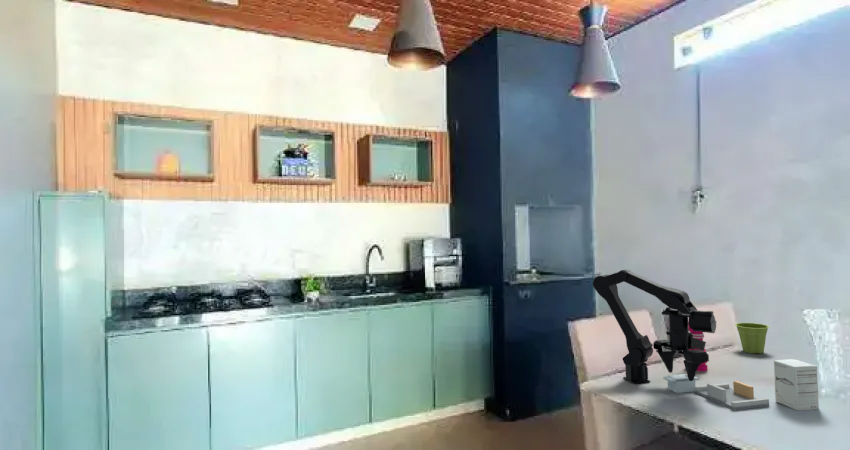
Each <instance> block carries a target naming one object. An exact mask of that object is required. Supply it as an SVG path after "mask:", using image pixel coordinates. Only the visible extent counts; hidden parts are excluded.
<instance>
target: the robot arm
mask: <svg viewBox="0 0 850 450" xmlns="http://www.w3.org/2000/svg"><path fill="white" fill-rule="evenodd" d="M622 283H626V284H629V285H630V286H633V287H635V288H637V289H639V290H641V291H643V292H645V293H647V294H649V295H651V296H653V297H654V298H655V297H656V298H657V299H658V300H659V301H660V302H661V303H662V304H664V305H665V306H666V308H665V309H664V310H663V311H661V314H662V315H666V316H668V330H666V332H665V334H666V335H667V336H668V337H669V338H668V339H657V340H654V342H653V343H652V342H651V341H650V339H649V335H648V334H645V335H642V334H641V333H640V332H639V331H638V329H637V327H636V326H635V323H634V322H633V320H632V318H631V316H630V315H629V313H628V310H627V309H626V307H625V305H624V304H623V301H622V300H621V298H620V296H619V291H618V284H622ZM592 287H593V289H594V290H595V291H596V292H597V294H598V295H599V296H600V297H602V298H603V300H605V302H606V304H607V305H608V307H609V309H610V311H611V312H612V315H613V316H614V318H615V319H616V322H617V323H618V325H619V327H620V330H621V331H622V333H623V335H624V337H625V343H626V348H627V352H628V353H627V354H625V356H623V357H622V360H623V365H625V366H624V369H625V376H623V377H622V379H624V380H626V381H627V382H630V383H631V384H635V385H637V384H646V383H651V380H650V379H649V369H648V367H647V363H646V362H648V359H650V358H651V357H652V355H653V353H654V350H655V352H656V353H657V354H658V355H659V357H660V359H661V360H662V362H663V364H664V366H665V368H666V369H667V372H668V373H673V369H674V356H675V355H676V353H678V354H681V355H683V360H682V361H683V364H684V368H685V372H686V374H687V376H688V379H689V381H693V379H694V376H695V375H696V374H697V372H698V371H697V369H698V367H699V365H700V364H702V363H705V362H706V361H708V362H710V357H709V356H710V355H709V353H708V352H707V351H706V352H707V353H706V352H704V348H705V347H706V344H707V341H704V340H703V341H702V340H699V339H696V338H693V334H692V333H690V331H689V327H690V328H691V329H693V331H699V332H703V333H709V334H715V333H716V329H717V320H716V317H715V315H714V311H713V310H707V311H706V310H698V308H696V306H695V305H694V304H693V302H692V301H691V300H690V299H691V298H690V296H689V294H688V293H687V292H686V291H684V290H681V289H677V288H675V287H674V288H673V287H671V286H670V287H669V286H664V285H662V284H659V283H657V282H654V281H652V280H650V279H648V278H646V277H644V276H641V274H640V275H639V274H637V273H634V272H632V271H631V270H630V269H621V270H619V271H617V272H614V273H611V274H602V275H598V276H595V277H594V279H593V280H592ZM688 322H689V325H688ZM694 348H695V349H697V350H689V349H694ZM698 349H700V350H698ZM705 349H706V348H705ZM695 377H696V376H695Z"/></svg>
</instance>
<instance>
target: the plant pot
mask: <svg viewBox="0 0 850 450" xmlns="http://www.w3.org/2000/svg"><path fill="white" fill-rule="evenodd" d="M734 326H735V327H736V330H737V332H738V335H739V339H740V344H741V348H742V351H743V352H745V353H748V354H749V353H750V354H764V353H765V346H766V339H767V333H768V329H770V326H769V325H767V324H763V323H755V322H738V323H737V322H736V323H735V324H734Z"/></svg>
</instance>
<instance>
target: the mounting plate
mask: <svg viewBox="0 0 850 450" xmlns="http://www.w3.org/2000/svg"><path fill="white" fill-rule="evenodd" d="M732 384H733V388H730V384H729V383H717V384H714V383H711V382H710V383H706V385H697V386H696V385H695V391H694V393H695V394H697V395H698V396H701V397H704V398H706V399H709V400H711V401H713V402H715V403H717V404H719V403H720V405H722V406H724V407H727V408H728V409H731V410H733V411H737V410H744V409H756V408H763V407H764V408H767V407H770V399H769V398H767V397H764V398H756V397H754V386H752V385H750V384H747V383H744V382H741V381H738V380H733V383H732Z"/></svg>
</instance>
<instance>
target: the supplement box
mask: <svg viewBox="0 0 850 450" xmlns="http://www.w3.org/2000/svg"><path fill="white" fill-rule="evenodd" d="M773 368H774V391H775V392H774V396H775V399H774V400H775V402H777V403H778V404H782V405H783V406H786V407H789V408H791V409H793V410H795V411H806V410H807V411H810V410H811V411H812V410H820V409H819V407H820V406H819V383H818V379H819V378H818V366H817V365H816V364H815V365H814V364H811V363H807V362H805V361H802V360H798V359H795V358H791V359H789V358H787V359H776V360H774V361H773Z"/></svg>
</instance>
